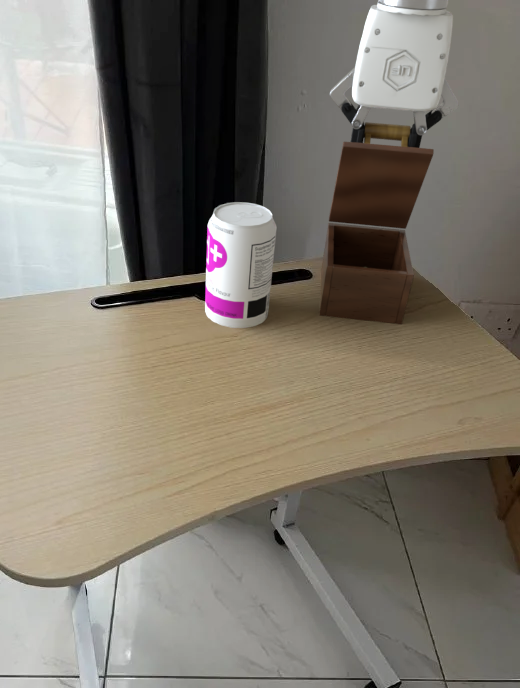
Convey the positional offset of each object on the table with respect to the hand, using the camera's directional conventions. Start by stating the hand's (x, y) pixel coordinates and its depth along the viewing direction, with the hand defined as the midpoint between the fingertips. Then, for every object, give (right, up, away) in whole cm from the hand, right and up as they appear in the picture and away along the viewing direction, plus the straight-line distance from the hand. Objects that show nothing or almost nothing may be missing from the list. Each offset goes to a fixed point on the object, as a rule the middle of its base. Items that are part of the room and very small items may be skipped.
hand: (381, 160), depth 83 cm
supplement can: (-18, -20, +4) cm, 28 cm away
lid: (0, -3, +1) cm, 4 cm away
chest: (-1, -17, +9) cm, 19 cm away
